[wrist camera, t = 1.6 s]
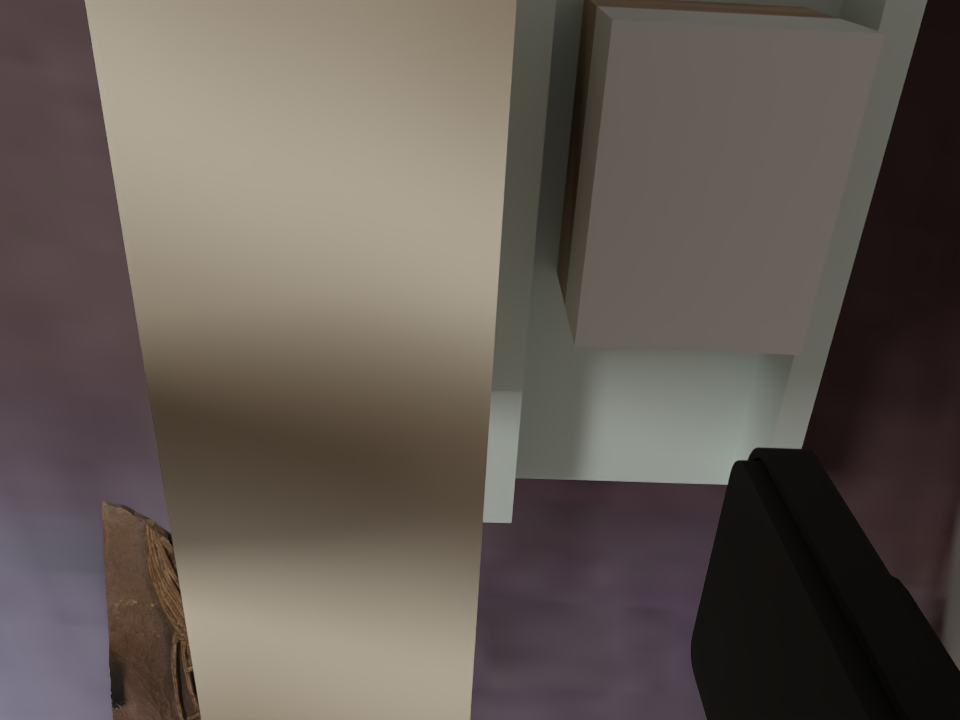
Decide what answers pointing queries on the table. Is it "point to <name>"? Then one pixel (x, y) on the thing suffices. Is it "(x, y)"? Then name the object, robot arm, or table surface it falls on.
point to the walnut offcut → (591, 1)
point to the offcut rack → (646, 372)
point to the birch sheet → (316, 332)
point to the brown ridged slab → (145, 621)
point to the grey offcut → (712, 176)
